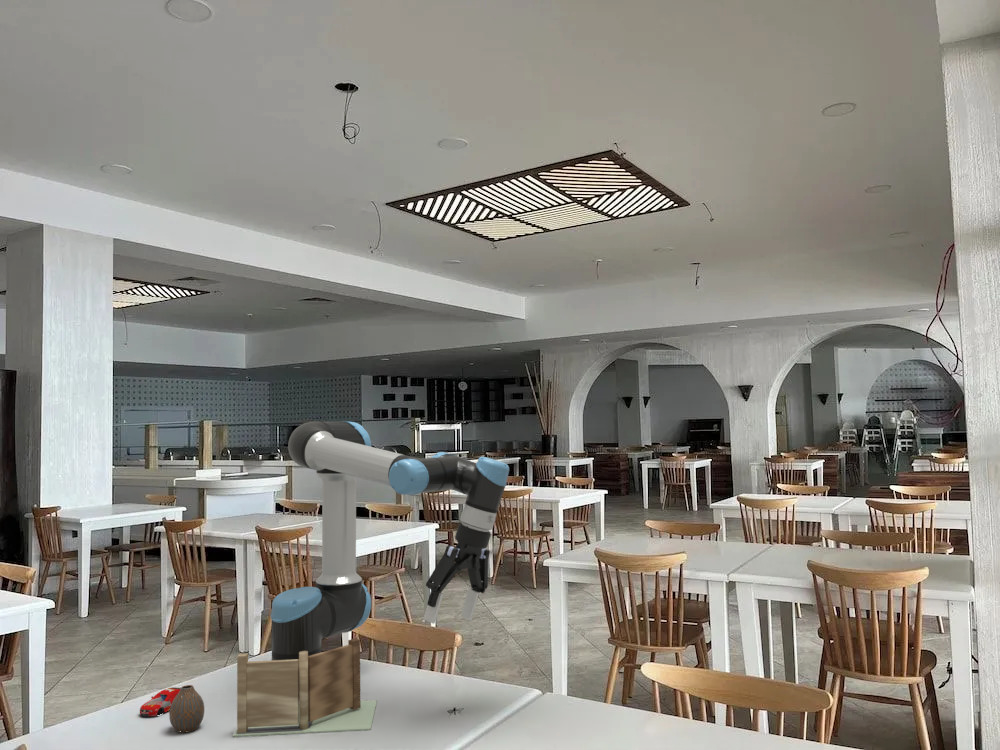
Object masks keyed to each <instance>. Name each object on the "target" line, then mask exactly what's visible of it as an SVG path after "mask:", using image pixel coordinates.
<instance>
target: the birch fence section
mask: <svg viewBox="0 0 1000 750" xmlns="http://www.w3.org/2000/svg"><path fill="white" fill-rule="evenodd" d="M236 659H237V660H236V662H237V663H236V664H237V665H236V669H237V671H236V677H237V678H236V681H237V683H236V686H237V687H236V692H237V693H236V695H237V696H236V698H237V699H236V702H237V703H236V710H237V712H236V723H237V724H236V726H237V727H236V728H237V729H236V730H237V733H244V732H247V730H248V727H264V726H283V725H298V724H299V729H303V730H306V729H308V651H301V652H299V659H294V660H272V659H271V660H272V661H271V660H253V661H252V660H251V661H249V653H248V652H247V653H238V655H237V657H236Z"/></svg>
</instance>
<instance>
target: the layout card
mask: <svg viewBox="0 0 1000 750" xmlns="http://www.w3.org/2000/svg"><path fill="white" fill-rule="evenodd" d="M377 703H378V700H376V699H375V700H373V699H372V700H360V705H361V708H358V709H355V710H353V709H350V708H347V709H345V710H342V711H339V712H336V713H333V714H331V715H328V716H325V717H322V718H319V719H317V720H314V721H311V722H310V721H308V729H306V730H303V729H299V724H298V725H283V726H264V727H248V730H247V732H244V733H237V729H236V730H235V731H234V733H233V734H232V738H239V737H241V738H242V736H244V737H259V736H261V737H262V735H263V736H277V735H278V736H281V735H297V734H298V735H299V734H314V733H315V734H316V733H318V734H319V733H334V732H335V733H336V732H339V733H340V732H353V731H355V732H356V731H370V730H372V724H373V721H374V716H375V711H376V708H375V707H377Z"/></svg>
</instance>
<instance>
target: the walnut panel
mask: <svg viewBox="0 0 1000 750" xmlns="http://www.w3.org/2000/svg"><path fill="white" fill-rule="evenodd" d="M347 643H348V644H346V645H343V646H342V645H341V646H338V647H336V648H332V649H329V650H325V651H321V653H318V654H314V655H310V656H308V721H310V722H311V721H314V720H317V719H319V718H322V717H325V716H328V715H331V714H333V713H336V712H339V711H342V710H345V709H347V708H350V709H353V710H355V709H358V708H361V705H360V701H361V639H359V638H351V639H349V640H348V639H347Z"/></svg>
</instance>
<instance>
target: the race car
mask: <svg viewBox="0 0 1000 750" xmlns="http://www.w3.org/2000/svg"><path fill="white" fill-rule="evenodd" d="M181 687H182V686H180V687H172V686H171V687H168V688H165V689H162V690H161V691H158V692H157V693H156V694H155V695H154V696H151V699H150V700H148V701H147V702H144V703H143V704H142V705H141V706H140V708H139V715H140V717H150V718H151V717H158V716H157V715H160V714H162V713H163V714H165V713H164V712H166V713H167V711H168V712H169V710H170V707H171V704H172V702H173V700H174V698H175V697H176V696H177V694H178V693H179V691H180V689H181Z"/></svg>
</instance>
